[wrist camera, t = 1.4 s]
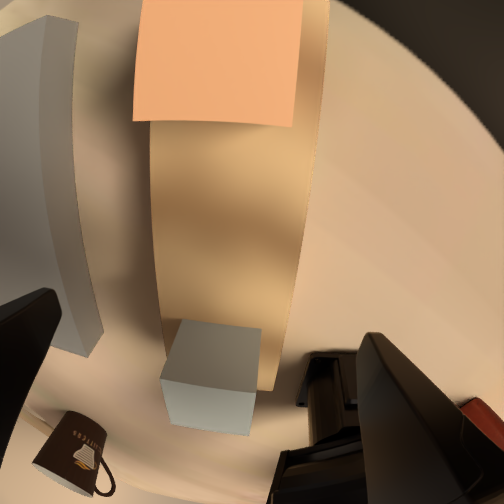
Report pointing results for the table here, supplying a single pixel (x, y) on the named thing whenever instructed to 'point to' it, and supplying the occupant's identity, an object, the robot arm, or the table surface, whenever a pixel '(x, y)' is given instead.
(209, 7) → the orange cube
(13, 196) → the dock
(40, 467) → the coffee mug
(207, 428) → the grey cube
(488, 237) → the table surface
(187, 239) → the wooden block
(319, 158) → the table surface
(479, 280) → the table surface
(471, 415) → the plant pot
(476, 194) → the table surface
